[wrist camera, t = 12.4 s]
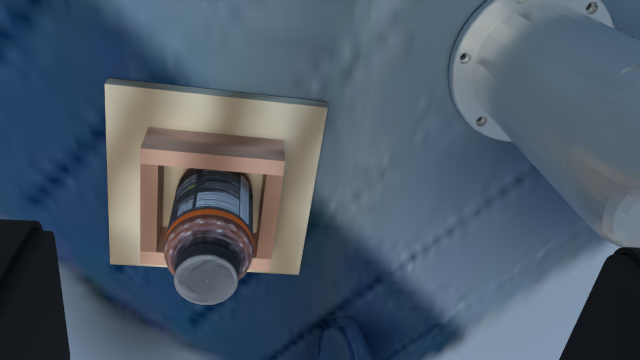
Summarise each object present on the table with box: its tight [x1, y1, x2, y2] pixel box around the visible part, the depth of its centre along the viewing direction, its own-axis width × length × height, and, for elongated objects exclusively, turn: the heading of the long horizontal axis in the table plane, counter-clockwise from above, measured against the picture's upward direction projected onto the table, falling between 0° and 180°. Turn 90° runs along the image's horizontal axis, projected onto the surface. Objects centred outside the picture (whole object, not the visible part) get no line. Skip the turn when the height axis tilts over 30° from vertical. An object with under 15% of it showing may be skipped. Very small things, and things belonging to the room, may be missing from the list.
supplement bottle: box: [164, 168, 254, 305], centre depth 40 cm, size 6×6×11 cm
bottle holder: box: [105, 78, 328, 275], centre depth 44 cm, size 16×16×5 cm
